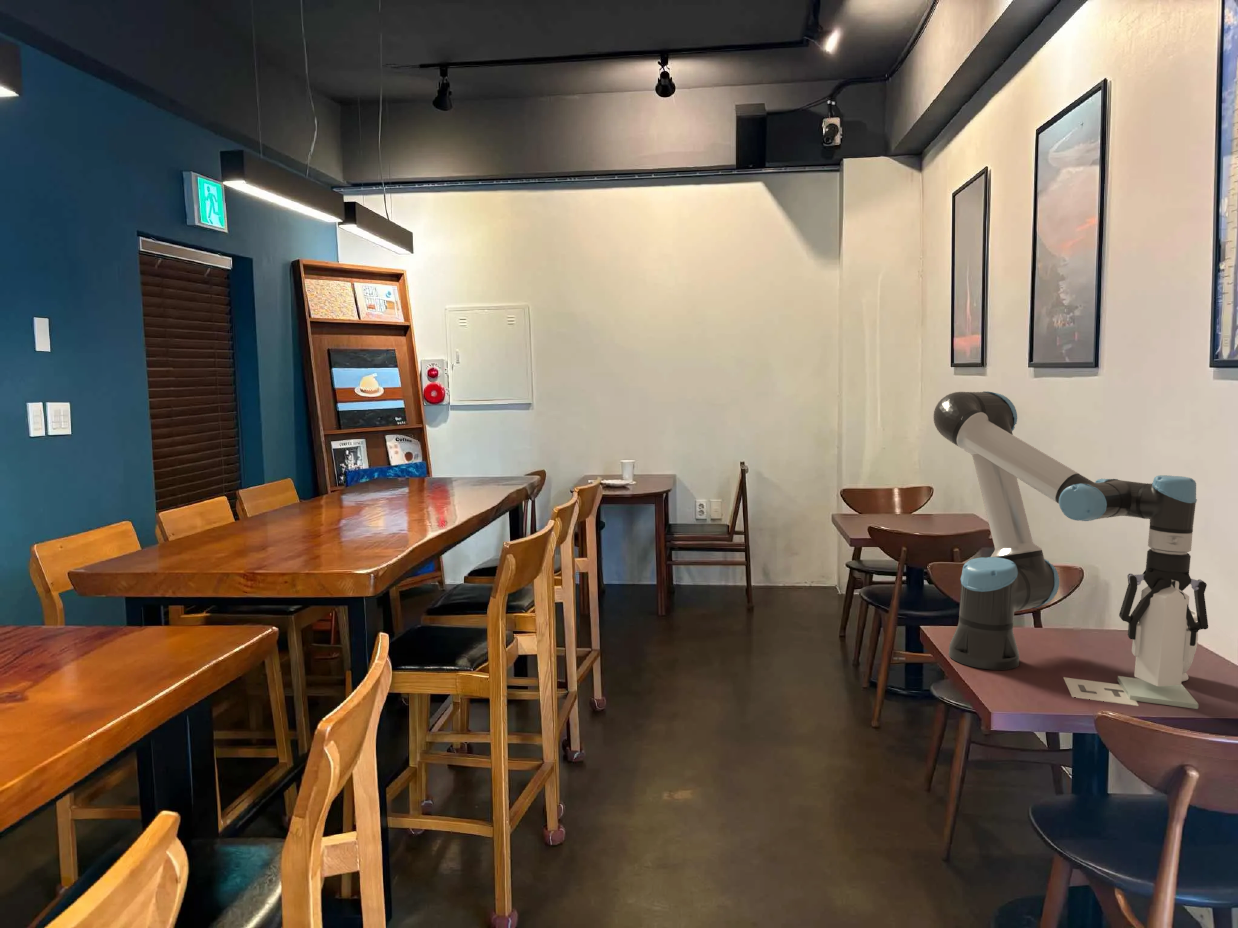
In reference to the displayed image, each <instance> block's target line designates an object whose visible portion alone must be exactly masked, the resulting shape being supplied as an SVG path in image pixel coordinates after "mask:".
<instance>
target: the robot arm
mask: <svg viewBox="0 0 1238 928" xmlns="http://www.w3.org/2000/svg"><path fill="white" fill-rule="evenodd" d="M933 423H934V426H935V428H936V430H937V431H938V433H939V434H940V435H941V436H942V437H943V438H944V439H946V440H948V441H949V442H950V443H952V444H953V445H955V446H957V447H958V448H960V449H963V450H964V451H965V452H966V453H969V454H970V455H971V456H972V459H973V460H972V461H973V463H974V464H973V465H974V467H975V472H976V476H977V479H978V481H977V482H978V485H979V489H980V493H981V497H982V501H983V504H984V509H985V513H986V517H987V521H988V526H989V530H990V534H991V538H992V542H993V545H994V546H993V547H994V551H993V553H991V556H987V557H983V556H982V557H976V558H972V559H969V560H968V561H966V562H965V563H964V564H963V566H962V571H961V575H960V595H959V596H960V597H959V610H958V611H959V613H958V616H959V617H958V624H957V626H956V630H955V632H954V633H953V636H952V638H951V640H950V643H949V646H948V656H949V657H950V659H952V660H953V661H955V662H957V663H959V664H962V665H965V666H967V667H973V668H976V669H982V670H991V671H1007V670H1012V669H1016V668H1017V667H1019V665H1020V651H1019V649H1018V645H1017V642H1016V637H1015V634H1014V617H1015V613H1016V612H1019V611H1023V610H1029V609H1030V610H1031V609H1037V608H1040V607H1041V606H1044V605H1047V604H1048V603H1050V602H1051V601H1052V600H1053V599H1054V598H1055V597H1056V595H1057V594H1058V592H1059V588H1060V575H1059V573H1058V570H1057V569H1056V567H1055V566H1054V564H1053V563H1050V561H1049V560H1048V559H1045V556H1044V553H1043V549H1042V547H1040V546H1039V545H1037V544H1035V543H1034V541H1033V538H1032V534H1031V530H1030V526H1029V521H1028V518H1027V514H1026V509H1025V506H1024V502H1023V498H1022V494H1021V491H1020V486H1019V482H1018V480H1020V481H1022V482H1023V483H1025V484H1027V485H1028V486H1029V487H1031V488H1033V489H1034V490H1036V491H1038V492H1040V493H1041V494H1042V495H1044V496H1045V497H1048V498H1049V499H1050V500H1052V501H1053V502H1055V503H1057V504H1058V506H1059V508H1060V510H1061V512H1062V513H1063V515H1064V516H1065V517H1066V518H1068V519H1070V520H1073V521H1081V522H1089V521H1094V520H1100V519H1108V518H1115V517H1116V518H1117V517H1123V516H1124V517H1131V518H1137V519H1138V518H1140V519H1144V520H1149V526H1148V527H1149V529H1148V530H1149V531H1148V541H1147V547H1149V549H1148V550H1147V552H1146V562H1145V570H1144V571H1143V573H1142V574H1133V573H1128V574H1127V583H1128V585H1127V587H1126V591H1125V593H1124V597H1123V599H1122V603H1121V604H1122V605H1121V607H1120V611H1119V614H1118V617H1119V618H1120V620H1122V621H1123V622H1126V623H1127V624H1128V627H1127V636H1128V638H1129V640H1132V643H1131V644H1132V645H1131V653H1132V654H1133V656H1134V657H1136V656H1138V657H1139V648H1140V636H1141V625H1140V624H1139V620H1140V619H1141V617H1142V616H1143V614H1144V613H1145V611H1146V610H1147V608H1148V606H1149V605H1150V599H1151V598H1152V597H1153V594H1155V593H1158V592H1159V591H1160V590H1162V589H1165V588H1168V587H1171V584H1172V585H1173V587H1174V588H1175V582H1176V581H1178V582H1179V590H1181V591H1182V592H1184V590H1185V589H1186V588H1188V586H1189V585H1190V586H1191V588H1192V590H1193V595H1194V604H1195V612H1196V613H1197V621H1196V622H1195V621H1194V618H1193V616H1192V614H1191V611H1190V610H1191V609H1190V606H1189V607H1188V604H1187V612H1186V619H1187V626H1188V628H1186V638H1185V649H1184V660H1183V661H1184V662H1188V659H1189V648H1190V646H1194V645H1195V644H1196V633H1197V632H1198V633H1199V631H1201V630H1208V629H1209V623H1208V615H1207V614H1208V613H1207V605H1206V596H1205V592H1206V589H1207V586H1208V585H1207V583H1206V582H1205V581H1204V580H1202V579H1194V578H1191V576H1190V569H1191V555H1190V553H1189V552H1191V551H1192V547H1193V546H1192V545H1193V532H1194V522H1195V512H1196V504H1197V501H1198V499H1197V483H1196V480H1194V479H1193V478H1191V477H1187V476H1179V475H1156V476H1154V478H1153V480H1152V481H1153V482H1151V483H1147V482H1146V483H1145V482H1137V481H1129V480H1122V479H1121V480H1120V479H1118V478H1099V479H1097V480H1095V482H1094V481H1092V480H1091V479H1089V478H1087V477H1085V476H1084V475H1082V474H1080V473H1079V472H1078V471H1075V470H1074V469H1072V468H1071V467H1069V466H1067V465H1065V464H1063V463H1061V462H1060V461H1058V460H1056V459H1055V458H1053V457H1051V455H1048V454H1046V453H1044V452H1042V451H1041V450H1040V449H1038V448H1036V447H1034V446H1032V445H1030V444H1029V443H1027V442H1026V441H1023V440H1022V439H1020V438H1018V437H1017V436H1015V435H1014V434H1013V432H1014V430H1015V427H1016V425H1017V423H1018V413H1017V409H1016V406H1015V405H1014V403H1013V402H1012V401H1011V400H1010V398H1008V397H1007V396H1006V395H1003V394H1001V393H998V392H993V391H955V392H952V393H951V392H950V393H949V394H946V395H945V396H944V397H942V398H941V399H940V400H939V401H938V403H937V404H936V406H935V408H934V410H933ZM1171 580H1175V581H1173V582H1172V581H1171ZM1142 581H1144V582H1145V583H1146V585H1147V586H1149V588H1150V589H1151V591H1150V592H1149V593H1148V594H1147V595H1146V596H1145V597H1144V598H1143V599H1142V600H1141V599H1140V600H1139V602H1137V604H1136V606H1135V607H1134V609H1133V610H1132V608H1133V604H1134V601H1135V597H1136V595H1137V592H1138V586H1140V585H1141V583H1142ZM1179 592H1180V591H1179ZM1182 592H1180V593H1181V594H1182V595H1183V596H1184V594H1183V593H1182ZM1184 599H1186V598H1185V596H1184ZM1131 611H1132V612H1131Z"/></svg>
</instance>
